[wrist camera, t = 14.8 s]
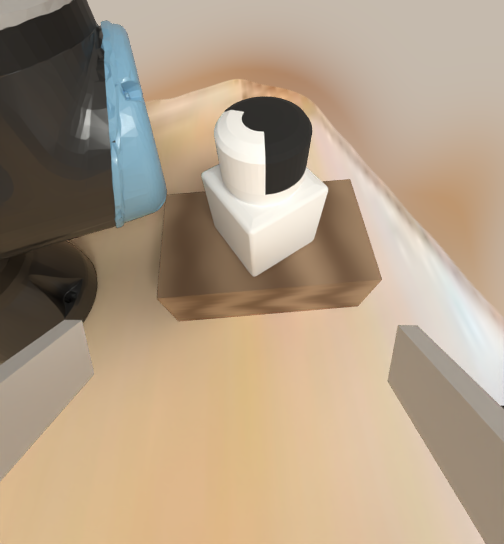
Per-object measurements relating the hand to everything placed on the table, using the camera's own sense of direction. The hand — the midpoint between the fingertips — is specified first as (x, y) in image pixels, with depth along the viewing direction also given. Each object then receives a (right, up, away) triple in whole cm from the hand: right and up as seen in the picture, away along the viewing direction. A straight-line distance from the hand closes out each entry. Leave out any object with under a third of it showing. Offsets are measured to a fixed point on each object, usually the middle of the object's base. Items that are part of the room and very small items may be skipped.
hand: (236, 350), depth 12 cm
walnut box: (+2, +4, +22) cm, 22 cm away
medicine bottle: (+2, +7, +16) cm, 17 cm away
